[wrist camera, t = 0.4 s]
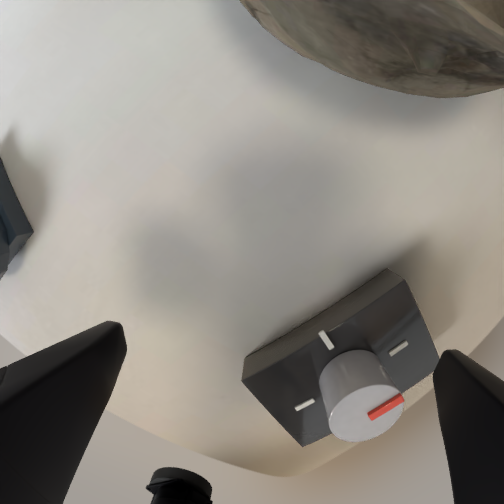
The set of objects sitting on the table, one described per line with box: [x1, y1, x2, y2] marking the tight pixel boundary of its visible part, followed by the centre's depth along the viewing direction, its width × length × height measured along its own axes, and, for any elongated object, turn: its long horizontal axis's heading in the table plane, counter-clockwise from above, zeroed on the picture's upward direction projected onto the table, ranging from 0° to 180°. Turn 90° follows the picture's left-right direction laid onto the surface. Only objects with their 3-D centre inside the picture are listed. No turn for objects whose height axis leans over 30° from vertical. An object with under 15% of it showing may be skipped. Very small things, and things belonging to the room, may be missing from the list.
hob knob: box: [319, 350, 404, 442], centre depth 16 cm, size 4×4×4 cm
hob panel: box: [241, 268, 440, 447], centre depth 19 cm, size 12×9×3 cm
